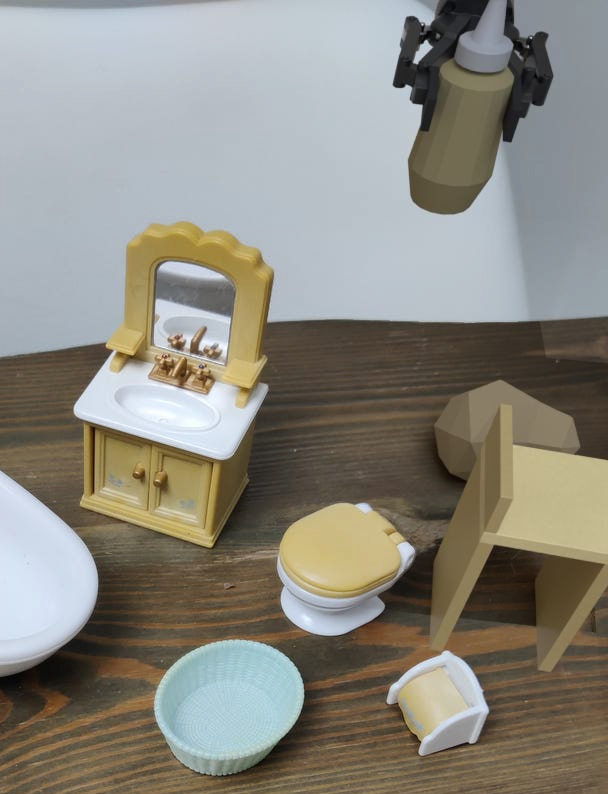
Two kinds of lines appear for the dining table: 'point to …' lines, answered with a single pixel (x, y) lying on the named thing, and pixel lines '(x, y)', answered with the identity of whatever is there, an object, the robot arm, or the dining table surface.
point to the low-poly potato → (473, 418)
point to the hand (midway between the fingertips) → (470, 120)
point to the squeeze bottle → (464, 119)
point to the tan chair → (527, 535)
